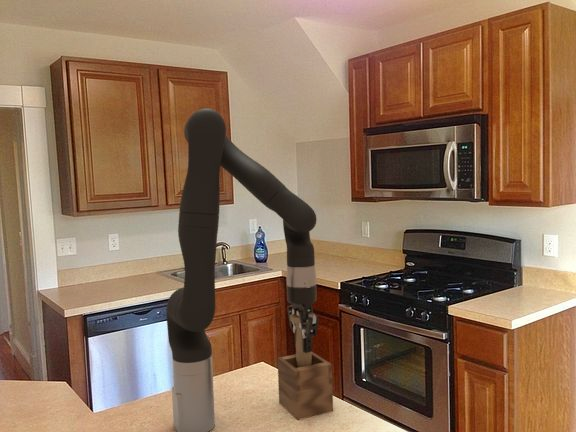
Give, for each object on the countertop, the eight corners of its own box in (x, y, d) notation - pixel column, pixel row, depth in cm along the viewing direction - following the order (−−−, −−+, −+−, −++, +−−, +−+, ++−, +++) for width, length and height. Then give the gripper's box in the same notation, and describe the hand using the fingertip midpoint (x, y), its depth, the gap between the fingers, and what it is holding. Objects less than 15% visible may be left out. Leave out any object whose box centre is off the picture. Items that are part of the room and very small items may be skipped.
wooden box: (297, 419, 123) (295, 371, 122) (279, 402, 133) (277, 357, 132) (333, 410, 127) (331, 364, 126) (312, 394, 137) (311, 351, 136)
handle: (292, 369, 132) (290, 313, 131) (316, 369, 132) (314, 312, 131) (291, 376, 127) (289, 318, 126) (317, 376, 127) (315, 317, 126)
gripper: (276, 280, 133) (278, 344, 134) (300, 289, 120) (302, 360, 121) (302, 277, 136) (304, 339, 137) (328, 286, 123) (330, 355, 124)
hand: (303, 349), depth 129 cm, fingers closed on handle, 4 cm apart
